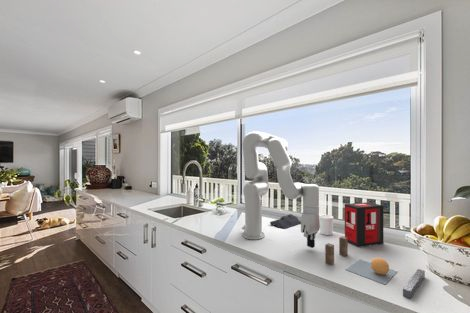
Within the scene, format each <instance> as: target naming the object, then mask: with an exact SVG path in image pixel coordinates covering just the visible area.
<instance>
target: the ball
mask: <svg viewBox="0 0 470 313" xmlns="http://www.w3.org/2000/svg"><path fill="white" fill-rule="evenodd" d="M370 263H371V267H372V269H373V270H374V272H376V273H377V274H380V275H385V274H387V273H388V272H389V269H390V265H389V263H388V262H387V261H386V260H385V259H383V258H382V257H381V258H380V257H375V258H373V259H372V261H371V262H370Z"/></svg>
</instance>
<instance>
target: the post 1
mask: <svg viewBox="0 0 470 313" xmlns="http://www.w3.org/2000/svg"><path fill="white" fill-rule="evenodd" d="M324 246H325V247H324V248H325V249H324V252H325V254H324V256H325V258H324V259H325V260H324V261H325V264H326V265H329V266H333V265H334V264H335V244H333V243H326V244H325V245H324Z"/></svg>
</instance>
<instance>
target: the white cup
mask: <svg viewBox="0 0 470 313" xmlns="http://www.w3.org/2000/svg"><path fill="white" fill-rule="evenodd" d="M319 222H320V228H319V232H320V234H322V235H325V236H332V235H333V230H334V216H333V215H329V214H319Z"/></svg>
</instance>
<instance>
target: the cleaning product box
mask: <svg viewBox="0 0 470 313" xmlns="http://www.w3.org/2000/svg"><path fill="white" fill-rule="evenodd" d="M344 237H347V238H348V244H350V245H353V246H354V247H357V248H362V246H363V247H370V246H374V245H375V246H376V244H377V245H383V244H384V205H381V204H377V203H374V202H371V201H369V202H355V203H353V202H352V203H344ZM369 245H370V246H369Z"/></svg>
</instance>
